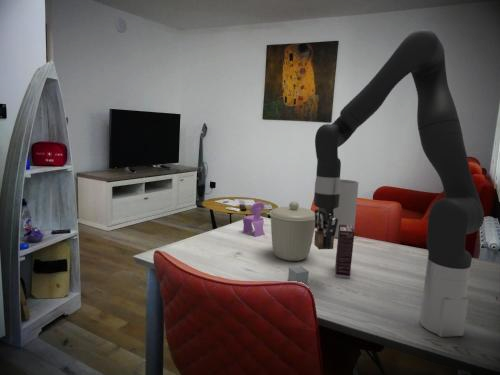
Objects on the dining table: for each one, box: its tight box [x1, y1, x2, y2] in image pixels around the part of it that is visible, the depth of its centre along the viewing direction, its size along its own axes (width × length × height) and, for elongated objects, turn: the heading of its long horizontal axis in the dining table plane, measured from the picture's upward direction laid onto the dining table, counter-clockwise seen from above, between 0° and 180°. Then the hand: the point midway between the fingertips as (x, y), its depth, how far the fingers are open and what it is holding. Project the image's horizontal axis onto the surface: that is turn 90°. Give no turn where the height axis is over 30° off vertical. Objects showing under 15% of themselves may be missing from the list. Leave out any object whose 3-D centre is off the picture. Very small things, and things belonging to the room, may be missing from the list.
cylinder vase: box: [332, 178, 359, 239], centre depth 164 cm, size 12×12×25 cm
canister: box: [268, 201, 316, 262], centre depth 134 cm, size 18×18×21 cm
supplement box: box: [334, 224, 356, 279], centre depth 121 cm, size 9×5×16 cm, turn 168°
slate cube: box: [287, 265, 310, 286], centre depth 113 cm, size 4×4×4 cm
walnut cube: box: [313, 230, 335, 250], centre depth 111 cm, size 4×4×4 cm
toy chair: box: [242, 201, 266, 238], centre depth 162 cm, size 8×9×15 cm
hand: (323, 245), depth 112 cm, fingers closed on walnut cube, 4 cm apart
